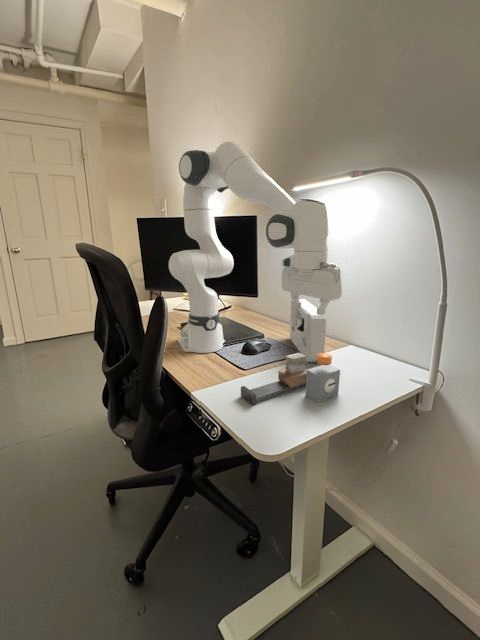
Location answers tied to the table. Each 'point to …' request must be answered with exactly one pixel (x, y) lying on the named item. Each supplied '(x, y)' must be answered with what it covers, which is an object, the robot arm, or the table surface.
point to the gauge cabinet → (322, 382)
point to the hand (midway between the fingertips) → (308, 311)
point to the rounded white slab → (307, 330)
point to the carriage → (294, 370)
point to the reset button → (324, 359)
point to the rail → (267, 391)
